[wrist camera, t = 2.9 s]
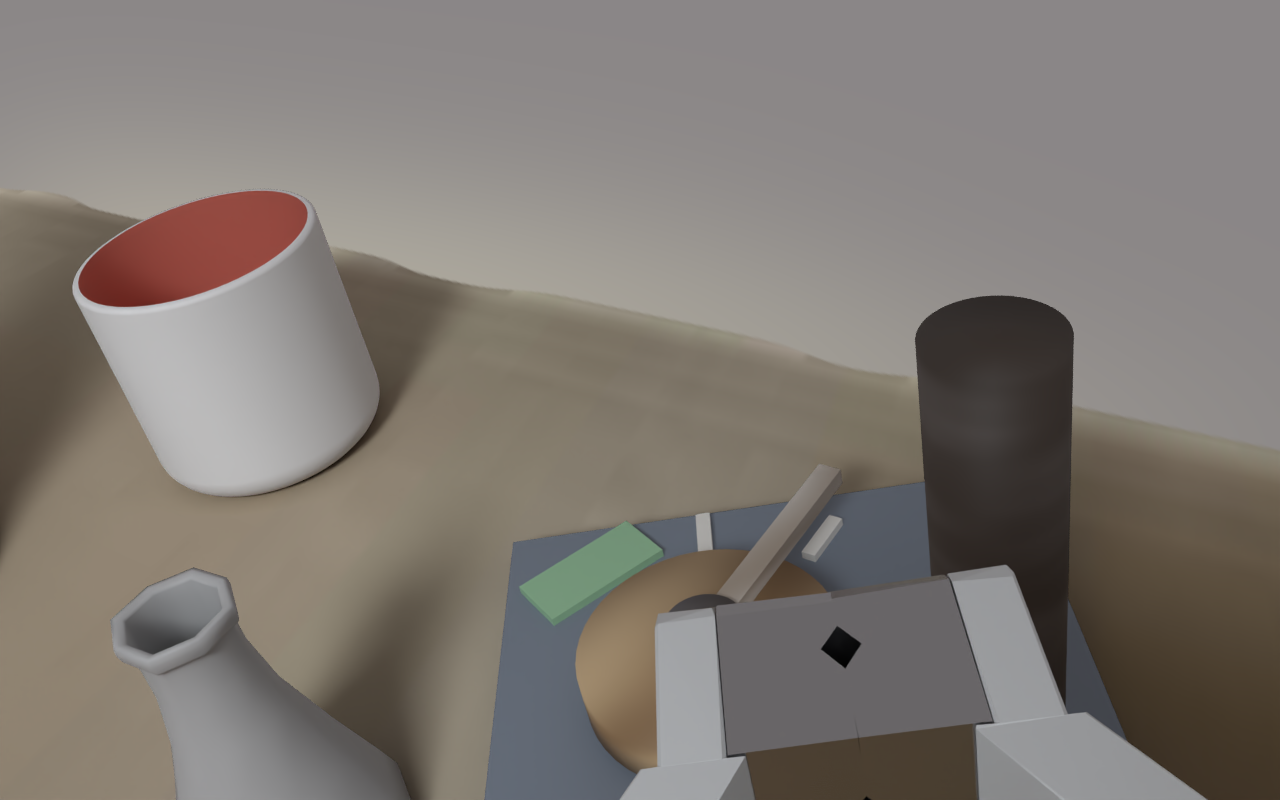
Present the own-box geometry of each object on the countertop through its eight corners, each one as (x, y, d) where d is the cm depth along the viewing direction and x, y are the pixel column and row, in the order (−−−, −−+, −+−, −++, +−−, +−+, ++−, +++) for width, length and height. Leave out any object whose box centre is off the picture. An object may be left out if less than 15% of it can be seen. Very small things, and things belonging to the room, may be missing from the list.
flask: (342, 712, 41) (232, 484, 35) (466, 833, 36) (362, 591, 31) (144, 859, 38) (-12, 632, 32) (252, 1013, 33) (90, 779, 27)
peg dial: (534, 728, 37) (392, 328, 29) (736, 487, 44) (669, 115, 36) (1001, 942, 29) (989, 475, 21) (1153, 606, 36) (1187, 163, 28)
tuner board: (470, 1060, 31) (454, 1030, 30) (521, 566, 45) (511, 536, 45) (1212, 983, 29) (1217, 948, 28) (1014, 494, 44) (1013, 461, 43)
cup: (318, 519, 50) (227, 312, 44) (125, 503, 54) (17, 310, 48) (424, 376, 58) (357, 184, 52) (249, 371, 61) (168, 190, 55)
